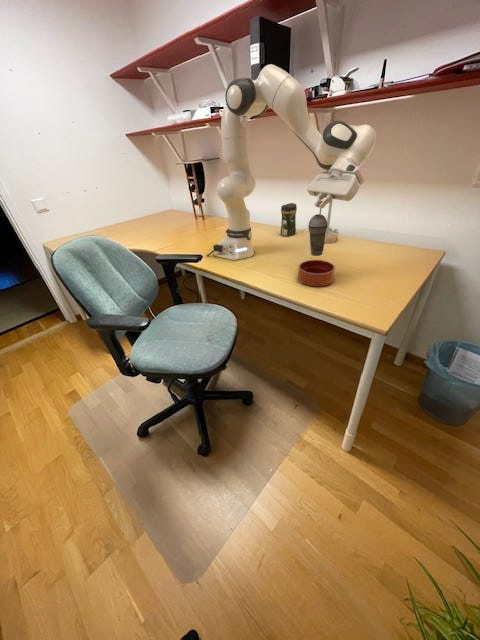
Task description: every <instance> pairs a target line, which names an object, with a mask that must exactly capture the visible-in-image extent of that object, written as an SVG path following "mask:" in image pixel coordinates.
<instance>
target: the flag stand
mask: <svg viewBox="0 0 480 640" xmlns="http://www.w3.org/2000/svg"><path fill="white" fill-rule="evenodd" d="M333 200H334V199H332V201H331V202H329V203H328V212H327V218H326V220H327V224H328V225H327V229H326V234H325V241H324V244H325V243H326V244H329V243H334V242H336V241H337V237H338V236H339V235H340V230H339V229H338V228H334V229H333V227H330V223H331V215H332V209H333Z"/></svg>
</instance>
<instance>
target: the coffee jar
mask: <svg viewBox="0 0 480 640" xmlns="http://www.w3.org/2000/svg"><path fill="white" fill-rule="evenodd" d="M297 209H298V207H297V204H296V203H295V202H289V203H286V204H282V205H281V206H280V214H281V222H280V223H281V224H280V235H281V236H282V237H291V236H293V235H295V234H296V233H297V232H296V231H297V227H296V224H297V223H296V217H297Z"/></svg>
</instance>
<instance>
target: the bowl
mask: <svg viewBox="0 0 480 640" xmlns="http://www.w3.org/2000/svg"><path fill="white" fill-rule="evenodd" d="M335 271H336V266H335V264H333V263H332V262H330V261H327V260H323V259H309V260H305V261H302V262H300V263H299V264H298V267H297V280H298V281H299V282H300V283H301V284H304V285H306V286H310V287H323V286H328V285H330V284H332V283H333V281H334V278H335Z"/></svg>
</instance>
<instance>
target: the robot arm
mask: <svg viewBox="0 0 480 640" xmlns="http://www.w3.org/2000/svg"><path fill="white" fill-rule="evenodd" d="M224 97H225V104H226V107H225V108H224V109H223V110H222V112H221V119H220V121H221V122H220V134H221V135H220V136H221V137H220V138H221V148H222V159H223V162H224V163H225V164H226V166H227V168H228V171H229V175H227V176H225V177H224V178H222V179H221V180H220V181H218V183H217V186H216V194H217V196H218V198H219V199H220V200H221V201H222V202H223V204H224V206H225V209H226V212H227V218H228V228H227V229H226V230H225V234H226V236H224V237H223V238H222V239H221V240H220V241H219V242H218V244H217V243H216V244H214V245H212V247H213V250H212V251H210V252H209V253H207V254H206V257H209V256H210V255H212V254H213V253H214V254H213V255H214V257H218V258H223V259H227V260H232V261H237V260H240V259H247V258H250V257H253V256H254V254H255V251H254V248H253V243H252V227H251V216H250V215H251V214H250V211H249V209H248V208H247V206H246V203H245V198H247V197H249V196H251V194H252V193H253V192H254V191H255V189H256V180H255V177H254V176H253V175H252V171H251V168H250V164H249V157H248V141H247V140H248V136H247V124H248V121H249V120H251V121H252V120H255V119H256V118H258V117H260V116H262V115H263V114H265V113H266V112H267V111H268V109H269V108H270V109H271V110H272V111H273V112H275V114H276V115H278V116H279V117H280V118H281V119H282V121H283V122H285V124H286V125H287V126H288V127H289V128H290V130H291V131H292V132H293V134H295V136H296V137H297V138H298V140H299V141H301V143H302V144H303V145H304V146H305V147H306V148H307V149H308V150H309V151H310V152H311V153H312V155H313V157H314V158H315V161H316V163H317V165H318V166H319V168H321V169H323V170H326V171H322V172H321V173H318V174H317V175H316V176H315V177H314V178H313V179H312V180H311V182H310V183H309V184H308V185H307V188H306V191H307V192H308V194H309V196H312V197H316V202H315V203H314V206H315V208H319V209H320V208H322V209H325V207H326V206H327V205H329V202H331V201H332V199H333V200H336V201H337V200H338V201H343V202H344V201H346V202H350V201H351V200H353V199H354V197H356V195H357V193H358V192H359V190H360V188H361V185H363V184H364V182H365V178H364V175H363V173H362V171H361V169H360V167H361V166H362V165H363V164H364V163H365V162H366V160H367V159H368V158H369V156H370V154H371V153H372V151H373V149H374V147H375V146H376V142H377V133H376V131H375V129H374V128H373V127H372V126H371V125H369V124H367V123H365V124H361V125H353V124H349V123H347V122H345V121H343V120H333V121H331V122H329V124H327V125H326V126H325V127H324V129H323V131H322V134H321V132H320V131H319V130H318V129H317V128H316V127H315V126H314V124H313V123H312V122H311V121H312V120H311V119H310V116H309V111H308V104H307V95H306V91H305V89H304V88H303V86H302V85H301V83H300V82H299V81H298V80H297V79H296V78H295V77H293V75H291V74H290V73H288V72H287V71H286V70H284V68H281V67H280V66H277V65H275V64H272V63H270V64H267V65H265V66H264V67H262V69H261V70H260V72H259V74H258V76H257V78H256V79H253V78H251V77H243V78H242V77H240V78H236V79H234V80H232V81H231V82H230V83H228V85H227V87H226V89H225V96H224ZM332 202H333V201H332Z"/></svg>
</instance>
